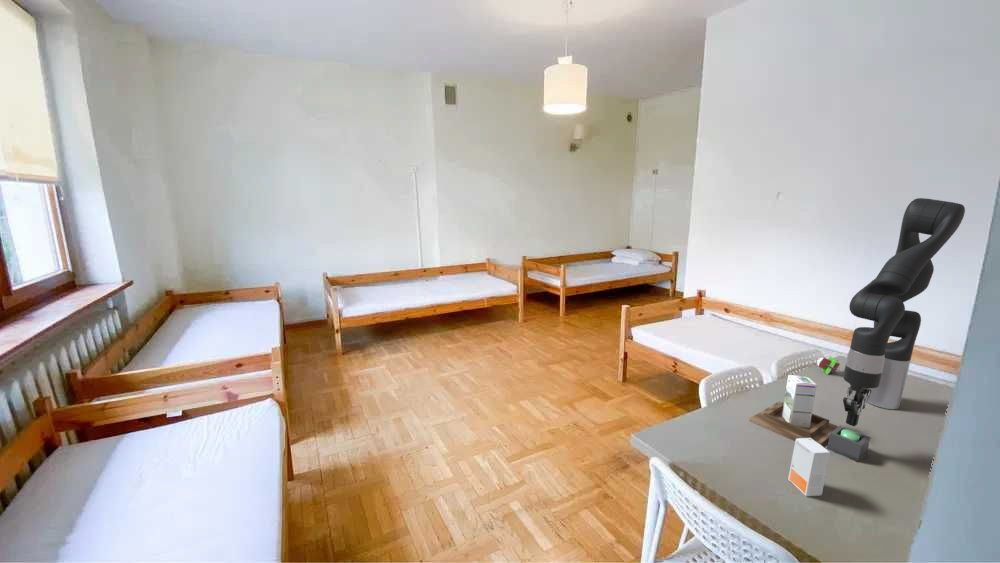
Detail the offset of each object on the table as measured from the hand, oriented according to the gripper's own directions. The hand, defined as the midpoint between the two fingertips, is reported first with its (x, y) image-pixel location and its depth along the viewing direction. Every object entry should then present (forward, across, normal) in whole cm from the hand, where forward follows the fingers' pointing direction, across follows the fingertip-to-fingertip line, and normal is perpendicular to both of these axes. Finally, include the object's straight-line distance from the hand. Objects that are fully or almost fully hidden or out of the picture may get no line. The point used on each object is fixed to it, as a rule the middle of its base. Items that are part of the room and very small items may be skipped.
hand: (851, 424), depth 117 cm
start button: (+6, 0, 0) cm, 6 cm away
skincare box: (+8, -27, 0) cm, 28 cm away
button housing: (+8, 0, 0) cm, 8 cm away
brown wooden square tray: (+8, +2, +14) cm, 16 cm away
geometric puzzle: (+9, +56, +24) cm, 61 cm away
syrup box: (+7, +2, +14) cm, 16 cm away
